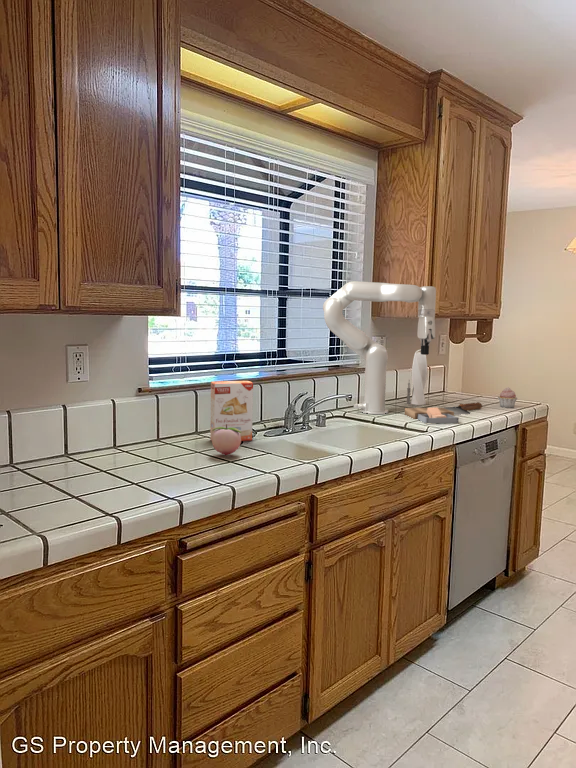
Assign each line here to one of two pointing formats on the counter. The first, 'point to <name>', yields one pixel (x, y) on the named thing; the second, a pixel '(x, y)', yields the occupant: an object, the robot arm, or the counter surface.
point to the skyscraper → (418, 380)
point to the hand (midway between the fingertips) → (424, 354)
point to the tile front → (438, 416)
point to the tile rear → (433, 411)
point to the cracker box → (232, 407)
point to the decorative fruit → (226, 440)
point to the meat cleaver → (464, 408)
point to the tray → (437, 419)
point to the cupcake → (507, 398)
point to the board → (423, 412)
